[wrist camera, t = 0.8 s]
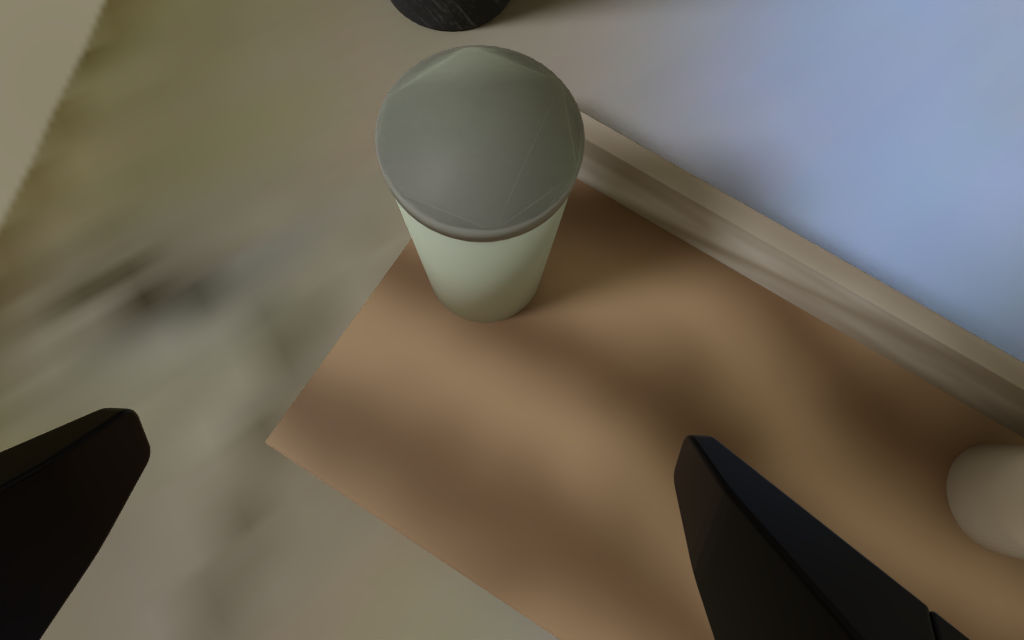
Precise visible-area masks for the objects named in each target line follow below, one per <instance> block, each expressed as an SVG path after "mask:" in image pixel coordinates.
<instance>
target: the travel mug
mask: <svg viewBox="0 0 1024 640" xmlns="http://www.w3.org/2000/svg"><path fill="white" fill-rule="evenodd" d="M391 1H392V3H393V4H394V6H395V7H396V8H397V9H398V10H399V11H400V12H401V13H402V14H403V15H404V16H406V17H407V18H409V19H410V20H411V21H413V22H415V23H417V24H419V25H422V26H425V27H427V28H431V29H435V30H442V31H460V30H466V29H471V28H474V27H477V26H480V25H482V24H484V23H486V22H488V21H490V20H491V19H493V18H494V17H495V16H497V15H498V14H499V13H500V12H501V11H502V10H503V9H504V8H505V6H506V5H507V3H508V2H509V0H391Z"/></svg>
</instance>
